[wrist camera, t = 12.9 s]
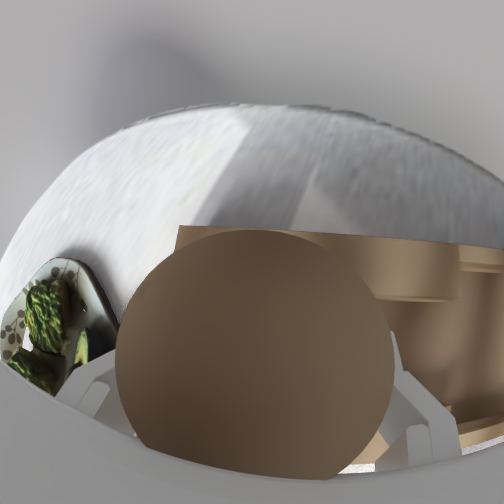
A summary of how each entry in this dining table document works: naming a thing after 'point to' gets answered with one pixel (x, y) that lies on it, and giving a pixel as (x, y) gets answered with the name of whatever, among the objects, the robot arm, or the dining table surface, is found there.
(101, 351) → the salad plate
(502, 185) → the dining table surface
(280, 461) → the oak peg
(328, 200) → the dining table surface
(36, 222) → the dining table surface
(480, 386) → the divided wooden tray
